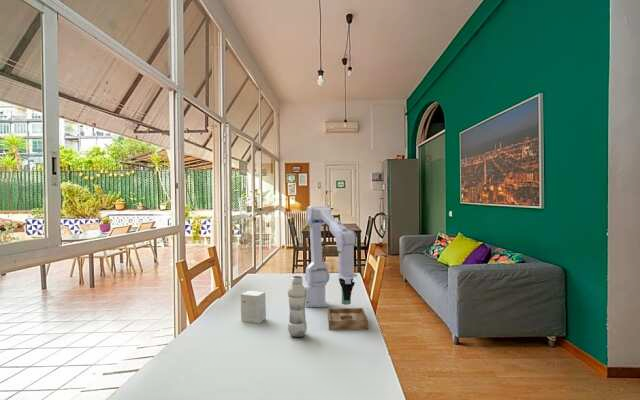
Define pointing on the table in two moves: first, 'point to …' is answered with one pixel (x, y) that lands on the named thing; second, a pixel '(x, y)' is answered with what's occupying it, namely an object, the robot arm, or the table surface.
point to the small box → (253, 306)
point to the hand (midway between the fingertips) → (346, 298)
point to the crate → (347, 318)
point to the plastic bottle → (297, 308)
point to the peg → (344, 300)
